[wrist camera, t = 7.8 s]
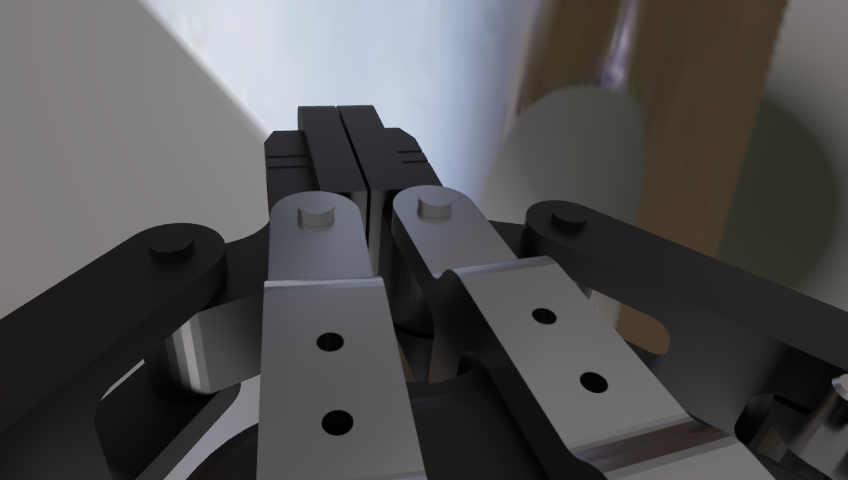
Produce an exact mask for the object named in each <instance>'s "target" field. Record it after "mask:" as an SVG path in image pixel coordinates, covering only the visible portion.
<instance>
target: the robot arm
mask: <svg viewBox="0 0 848 480" xmlns="http://www.w3.org/2000/svg"><path fill="white" fill-rule="evenodd" d="M264 149H265V164H266V180H267V195H268V211H269V219H270V220H269V222H268V223H267V224H266V225H265V226H264V227H263V228H262V229H261V230H259V231H258V232H256V233H254V234H252V235H250V236H248V237H246V238H243V239H240V240H236V241H233V242H229V243H225V242H224V239H223V238H222V236H221V235H220V234H219V233H217V232H216V231H214V230H213V229H211V228H208V227H206V226H202V225H198V224H191V223H174V224H165V225H160V226H156V227H153V228H149V229H147V230H144V231H142V232H140V233H138V234H136V235H134V236H132V237H131V238H129V239H127V240H126V241H124V242H123V243H121V244H120V245H118V246H116V247H115V248H113V249H112V250H110V251H108V252H107V253H105V254H104V255H102V256H100V257H99V258H97V259H96V260H94V261H93V262H91V263H89V264H88V265H86V266H85V267H83V268H81V269H80V270H78V271H77V272H75V273H74V274H72V275H70V276H69V277H67V278H66V279H64V280H63V281H61V282H59V283H58V284H56V285H55V286H53V287H51V288H50V289H48V290H46V291H45V292H43V293H42V294H40V295H39V296H37V297H35V298H34V299H32V300H31V301H29V302H28V303H26V304H24V305H23V306H21V307H20V308H18V309H16V310H15V311H13V312H12V313H10V314H8V315H7V316H5V317H4V318H2V319H0V480H163V479H164V478H165V477H166V476H167V475H168V474H169V473H170V472H171V471H172V470H173V468H174V467H175V466H176V465H177V464H178V463H179V462H180V461H181V460H182V459H183V457H184V456H185V455H186V454H187V453H188V452H189V451H190V450H191V449H192V447H193V446H194V445H195V444H196V443H197V442H198V441H199V440H200V439H201V437H202V436H203V435H204V434H205V433H206V432H207V431H208V430H209V429H210V428H211V427H212V425H213V424H214V423H215V422H216V421H217V420H218V419H219V418H220V417H221V415H222V414H223V413H224V412H225V411H226V410H227V409H228V408H229V406H231V404H232V403H233V402H234V400H235V399H236V398H237V396H238V394H239V392H240V388H241V382H242V381H245V380H247V379H250V378H252V377H255V376H257V375H260V374H261V376H260V401H259V423H257V424H255V425H253V426H251V427H249V428H247V429H245V430H243V431H242V432H241V433H239V434H237V435H235V436H234V437H232V438H231V439H229V440H228V441H226V442H225V443H224V444H223V445H221V446H220V447H219V448H217V449H216V450H215V451H214V452H213V453H211V454H210V455H209V456H208V457H207V458H206V459H205V460H204V461H203V462H202V463H201V464H200V465H199V466H198V467H197V468H196V469H195V470H194V471H193V472H192V473H191V474H190V476H189V477H188V478H187V479H186V480H848V312H846V311H844V310H842V309H839V308H836V307H834V306H832V305H829V304H827V303H824V302H822V301H819V300H817V299H814V298H812V297H809V296H807V295H804V294H801V293H799V292H797V291H794V290H791V289H789V288H787V287H784V286H781V285H779V284H777V283H774V282H772V281H769V280H767V279H764V278H762V277H759V276H757V275H754V274H752V273H749V272H747V271H744V270H742V269H739V268H737V267H734V266H732V265H729V264H727V263H725V262H722V261H720V260H717V259H715V258H712V257H710V256H707V255H705V254H702V253H700V252H697V251H695V250H692V249H690V248H687V247H685V246H682V245H680V244H677V243H675V242H672V241H670V240H667V239H665V238H662V237H660V236H657V235H655V234H652V233H650V232H647V231H645V230H642V229H640V228H637V227H635V226H632V225H630V224H627V223H625V222H622V221H620V220H617V219H614V218H612V217H610V216H608V215H605V214H602V213H600V212H597V211H595V210H593V209H590V208H588V207H585V206H582V205H579V204H576V203H572V202H567V201H558V200H551V201H543V202H539V203H536V204H534V205H532V206H531V207H530V208H529V209H528V210H527V212H526V216H525V221H524V225H522V224H514V223H505V222H496V221H491V220H487V219H486V217H485V216H484V215H483V214H482V212H481V211H480V210H479V209H478V207H477V206H476V205H475V203H474V202H473V201H472V200H471V199H470V198H469V197H467V196H466V195H465V194H463V193H461V192H459V191H456V190H454V189H450V188H447V187H443V185H442V184H441V182H440V180H439V179H438V177H437V175H436V173H435V172H434V170H433V168H432V167H431V165H430V163H428V160H427V158H426V156H425V155H424V153H422V150H421V148H420V146H419V144H418V143H417V141H416V139H415V138H414V137H412V136H411V135H409V134H408V133H406V132H405V131H403V130H402V129H400V128H384V126H383V124H382V122H381V120H380V118H379V116H378V114H377V112H376V110H375V108H374V106H373V105H350V106H337V107H335V106H299V107H298V130H293V131H273V132H272V134H271V135H270V136H269V137H268V139H267V140H266V141H265V142H264ZM592 290H596V291H598V292H600V293H602V294H604V295H606V296H608V297H611V298H613V299H615V300H617V301H619V302H621V303H623V304H626V305H628V306H630V307H632V308H634V309H636V310H638V311H641V312H643V313H645V314H647V315H649V316H651V317H653V318H655V319H657V320H658V321H660V322H661V323H662V324H663V325H664V326H665V328H666V329H667V331H668V333H669V336H670V346H669V348H668V351H667V353H666V354H663V355H659V354H654V353H651V352H648V351H646V350H644V349H642V348H640V347H638V346H636V345H634V344H632V343H630V342H628V341H626V340H624V339H622V338H621V336H620V335H619V334H618V333H617V332H616V331H615V329H614V328H613V327H612V326H611V325H610V324H609V323H608V321H607V320H606V319H605V318H604V317H603V315H602V314H601V313H600V312H599V311H598V310H597V309H596V307H595V306H594V305H593V304H592V303H591V302H590V300H589V299H590V296H591V293H592ZM143 359H144V362H145V363H144V364H143V365H142V366H141V367H140V368H138V369H137V370H136V371H135V372H134V373H132V374H131V375H130V376H129V377H128V378H127V379H126V380H124V381H123V382H122V383H121V384H120V385H119V386H117V387H116V388H115V389H114V390H113V391H112V392H111V393H109V394H108V395H107V396H106V397H105V398H103V399H102V397H103V396H104V395H105V393H106V392H107V391H108V390H109V388H110V387H111V386H112V385H113V384H115V383H116V382H117V381H118V380H119V379H120V378H121V377H123V376H124V375H125V374H126V373H127V372H129V371H130V370H131V369H132V368H133V367H134V366H136V365H137V364H138V363H139V362H140V361H141V360H143ZM101 399H102V400H101Z"/></svg>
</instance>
